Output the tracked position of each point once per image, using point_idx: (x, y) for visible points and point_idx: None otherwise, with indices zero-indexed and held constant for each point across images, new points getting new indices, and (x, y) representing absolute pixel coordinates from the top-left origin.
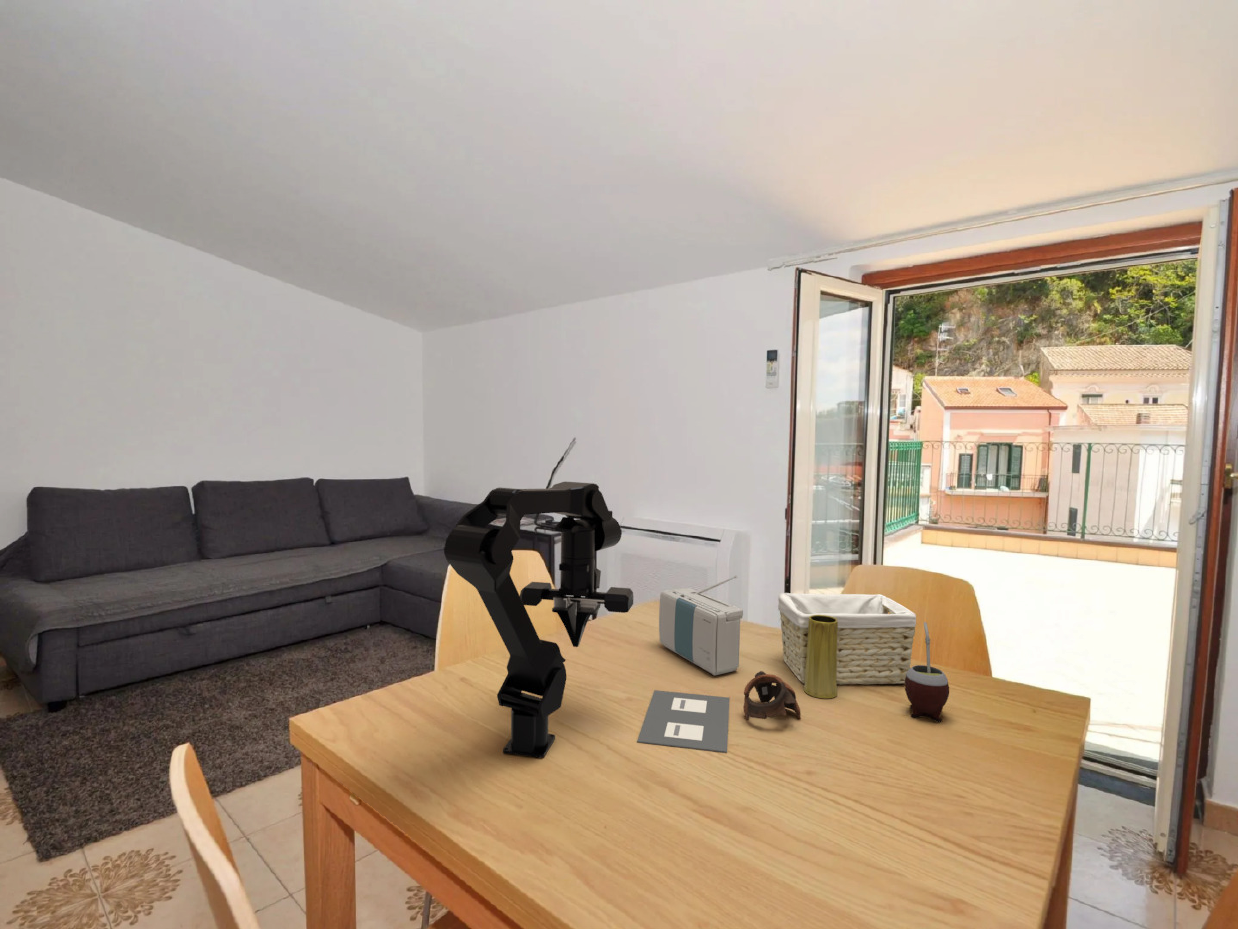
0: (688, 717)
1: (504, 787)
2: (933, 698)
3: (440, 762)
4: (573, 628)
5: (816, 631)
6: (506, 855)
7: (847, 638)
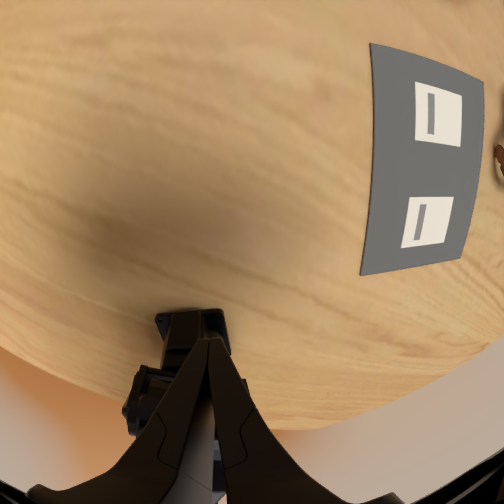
0: (439, 169)
1: None
2: None
3: (124, 375)
4: (210, 440)
5: None
6: None
7: None
